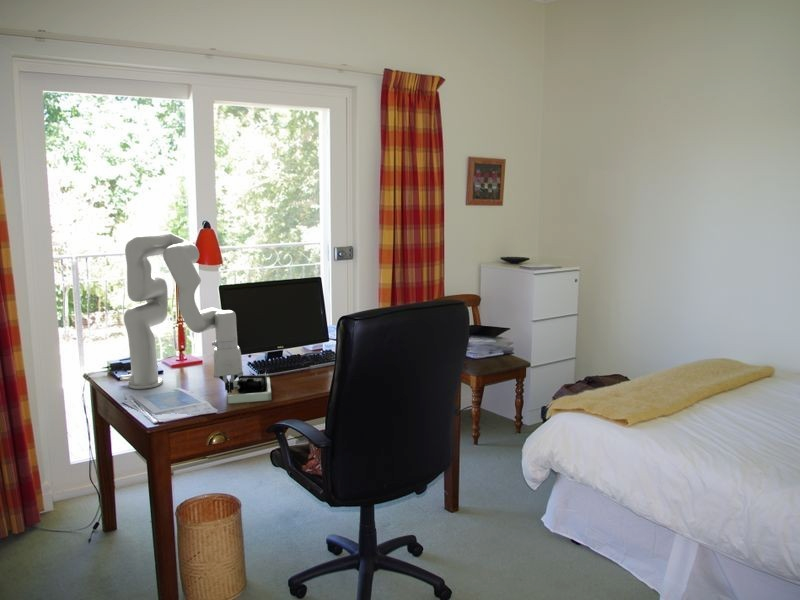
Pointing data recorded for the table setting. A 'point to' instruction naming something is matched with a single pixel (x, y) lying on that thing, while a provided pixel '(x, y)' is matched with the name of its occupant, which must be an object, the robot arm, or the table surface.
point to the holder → (250, 395)
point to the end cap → (252, 384)
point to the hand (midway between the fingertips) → (229, 391)
